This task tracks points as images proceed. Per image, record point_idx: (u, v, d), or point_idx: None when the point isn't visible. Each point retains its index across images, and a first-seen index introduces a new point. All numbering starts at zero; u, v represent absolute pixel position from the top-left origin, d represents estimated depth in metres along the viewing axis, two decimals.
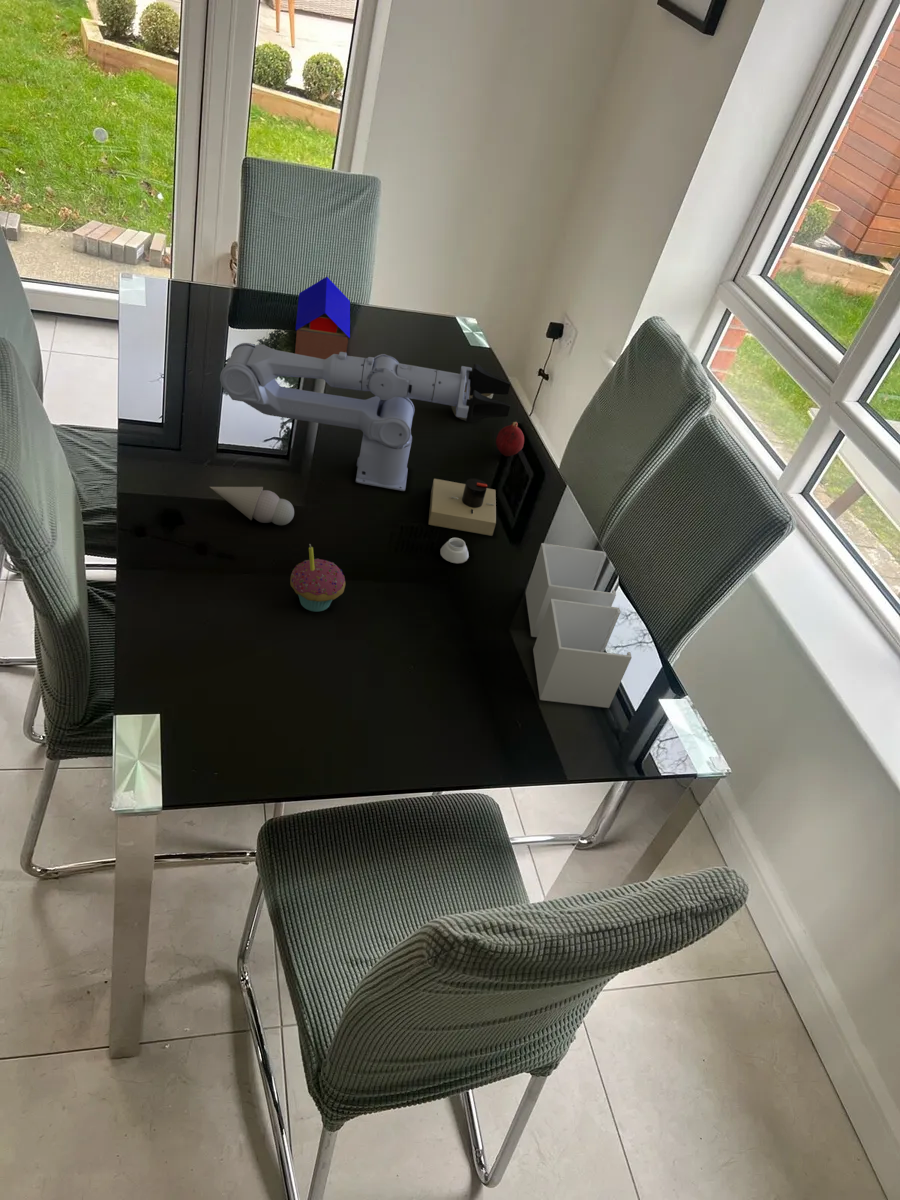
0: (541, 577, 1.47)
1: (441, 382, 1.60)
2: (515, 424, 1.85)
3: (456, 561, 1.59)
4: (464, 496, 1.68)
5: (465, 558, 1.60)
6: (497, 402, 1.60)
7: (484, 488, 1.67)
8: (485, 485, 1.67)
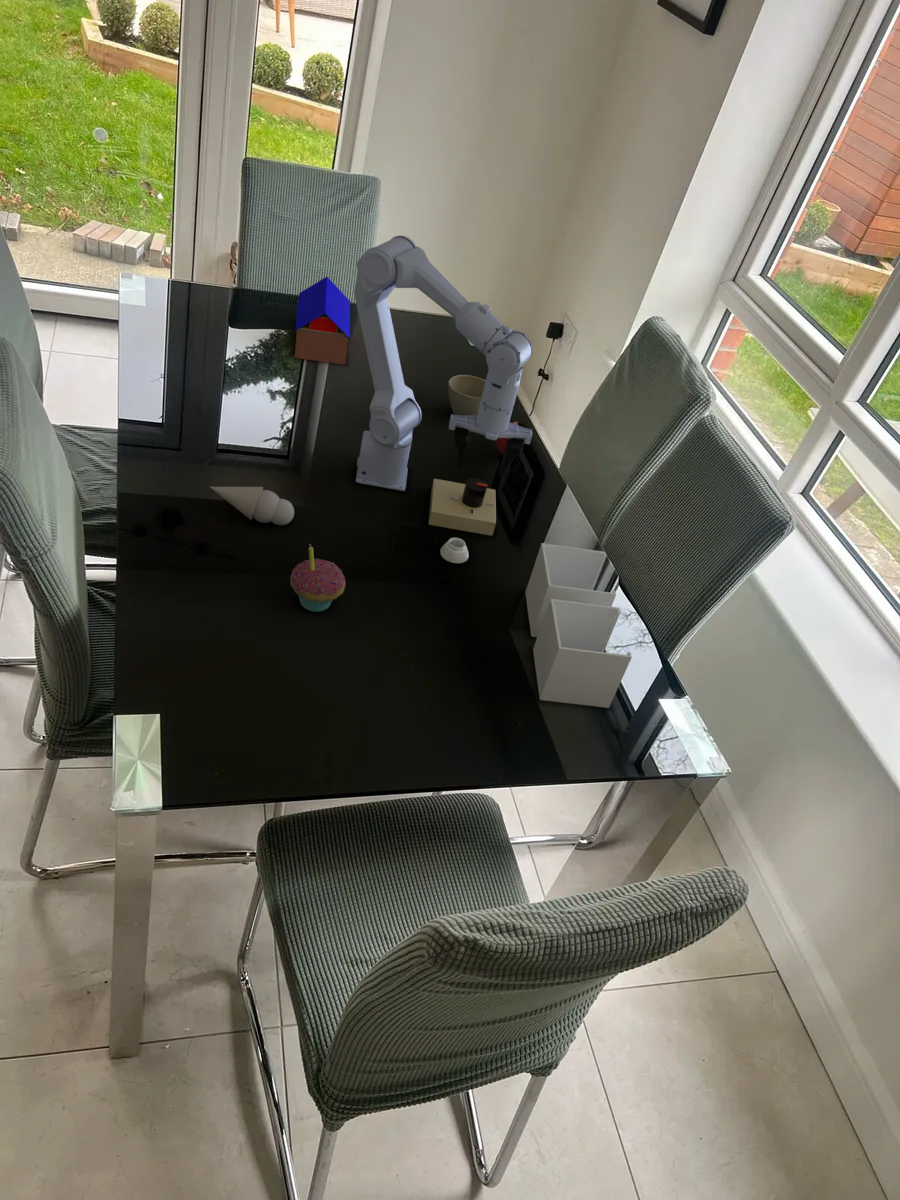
0: (541, 577, 1.47)
1: (485, 411, 1.55)
2: (515, 424, 1.85)
3: (456, 561, 1.59)
4: (464, 496, 1.68)
5: (465, 558, 1.60)
6: (459, 457, 1.62)
7: (484, 488, 1.67)
8: (485, 485, 1.67)
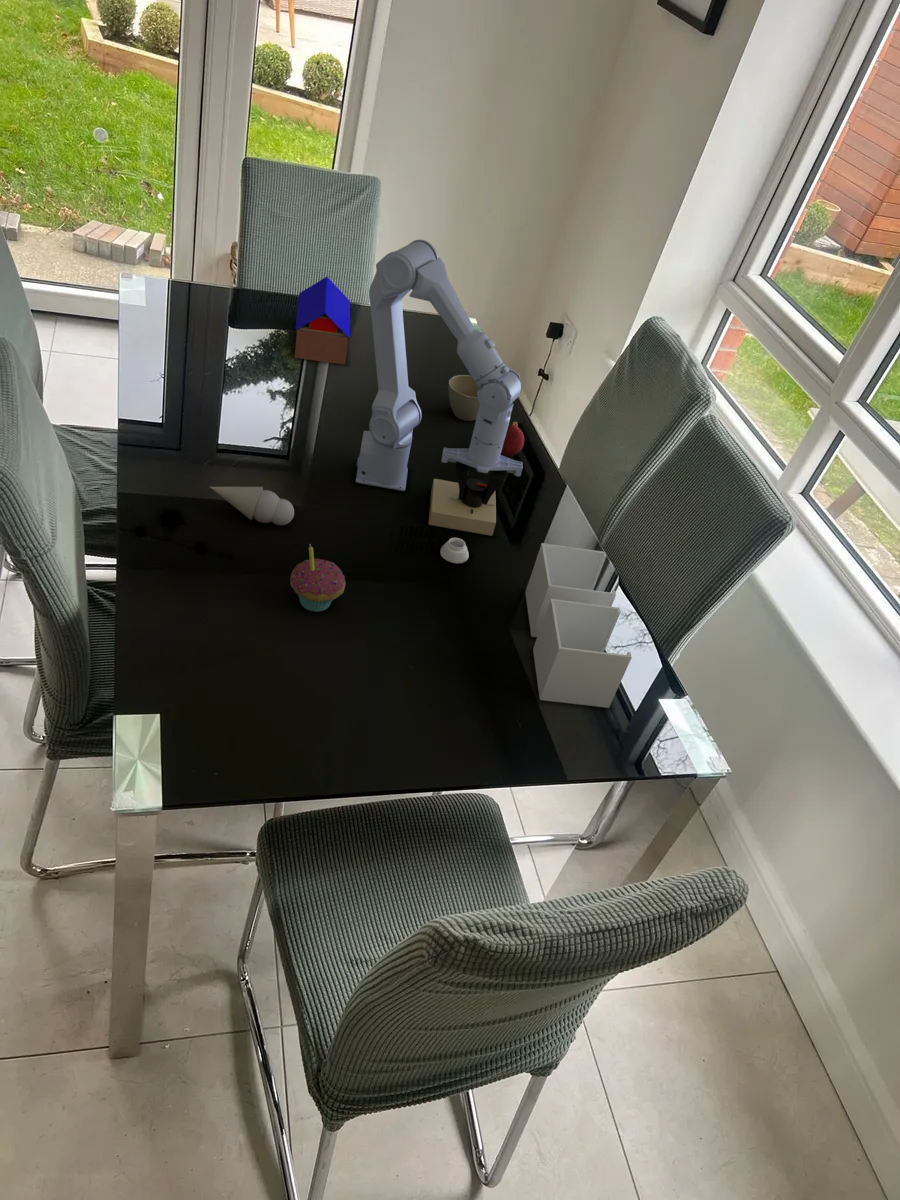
0: (541, 577, 1.47)
1: (476, 445, 1.60)
2: (515, 424, 1.85)
3: (456, 561, 1.59)
4: (464, 496, 1.68)
5: (465, 558, 1.60)
6: (460, 490, 1.67)
7: (484, 488, 1.67)
8: (485, 485, 1.67)
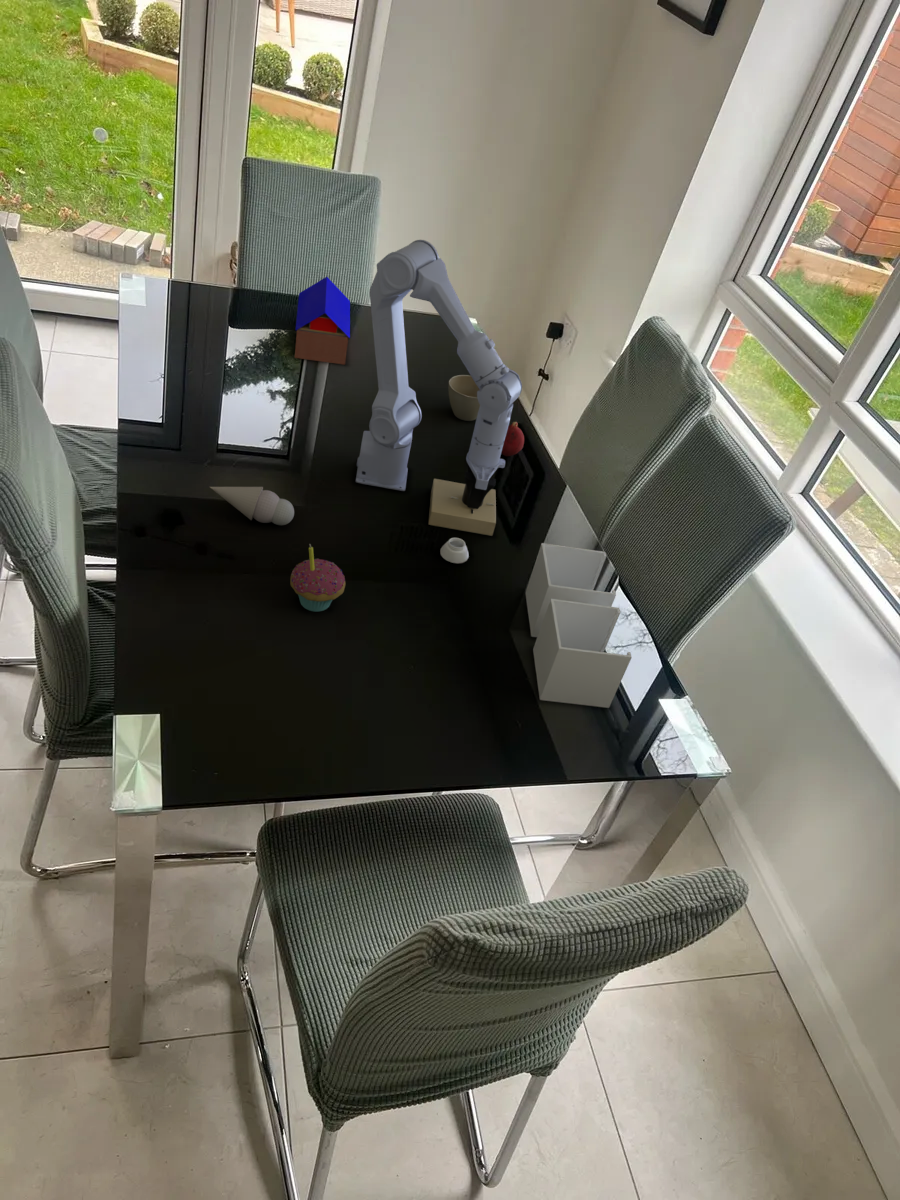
0: (541, 577, 1.47)
1: (498, 450, 1.60)
2: (515, 424, 1.85)
3: (456, 561, 1.59)
4: None
5: (465, 558, 1.60)
6: None
7: None
8: None
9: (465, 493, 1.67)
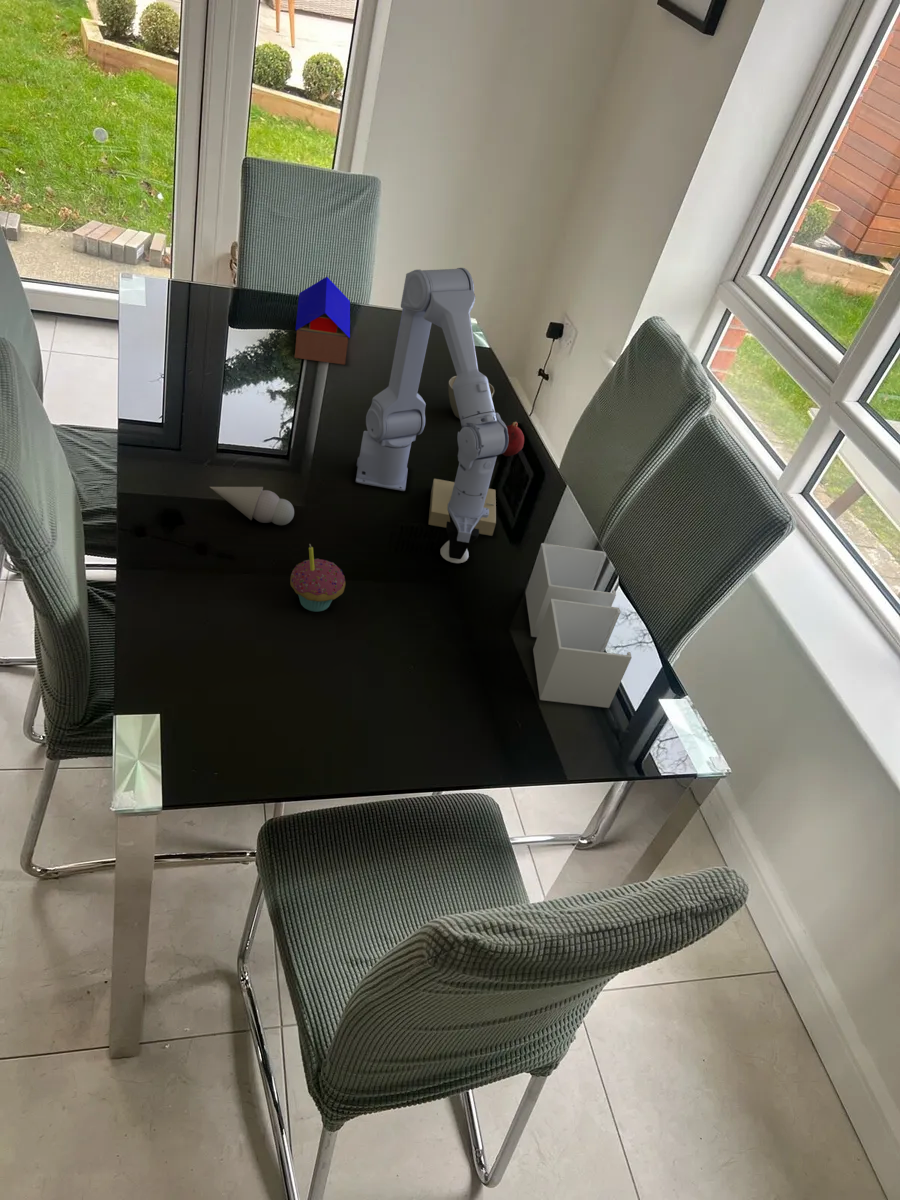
0: (541, 577, 1.47)
1: (481, 499, 1.51)
2: (515, 424, 1.85)
3: (456, 561, 1.59)
4: None
5: (465, 558, 1.60)
6: (465, 549, 1.57)
7: None
8: None
9: None
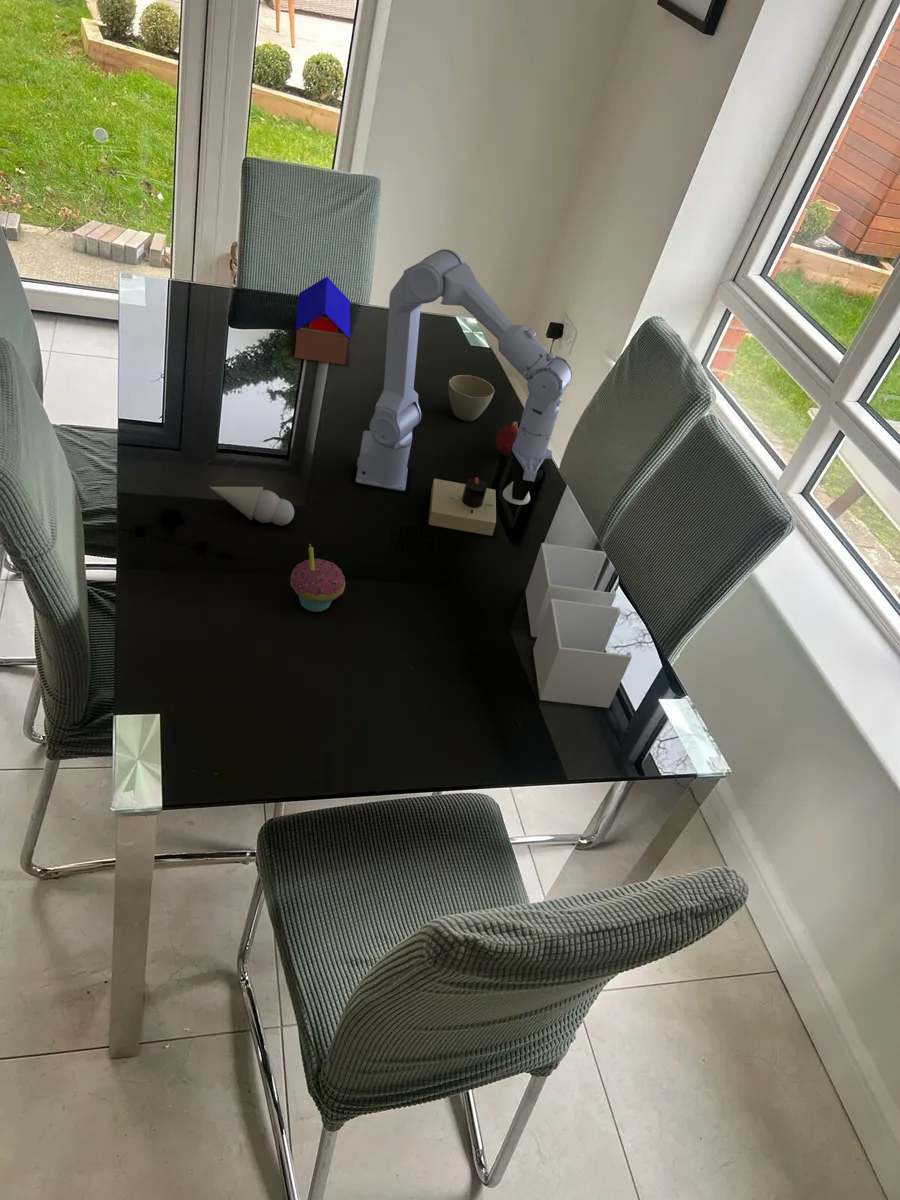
0: (541, 577, 1.47)
1: (546, 440, 1.56)
2: (515, 424, 1.85)
3: (519, 502, 1.64)
4: (478, 501, 1.68)
5: (527, 500, 1.65)
6: (528, 490, 1.62)
7: (480, 480, 1.69)
8: (477, 478, 1.68)
9: (465, 493, 1.67)
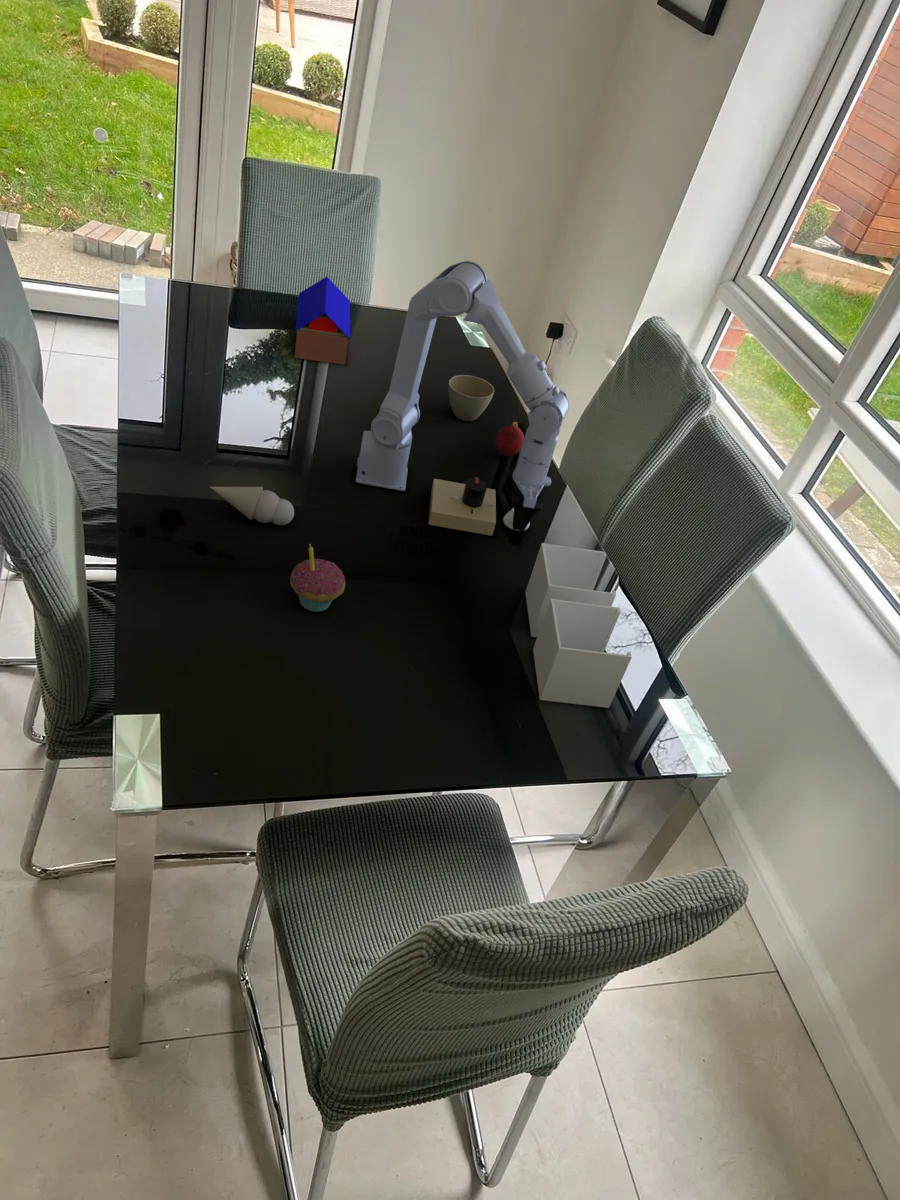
0: (541, 577, 1.47)
1: (546, 468, 1.62)
2: (515, 424, 1.85)
3: None
4: (478, 501, 1.68)
5: (527, 526, 1.71)
6: (529, 521, 1.67)
7: (480, 480, 1.69)
8: (477, 478, 1.68)
9: (465, 493, 1.67)
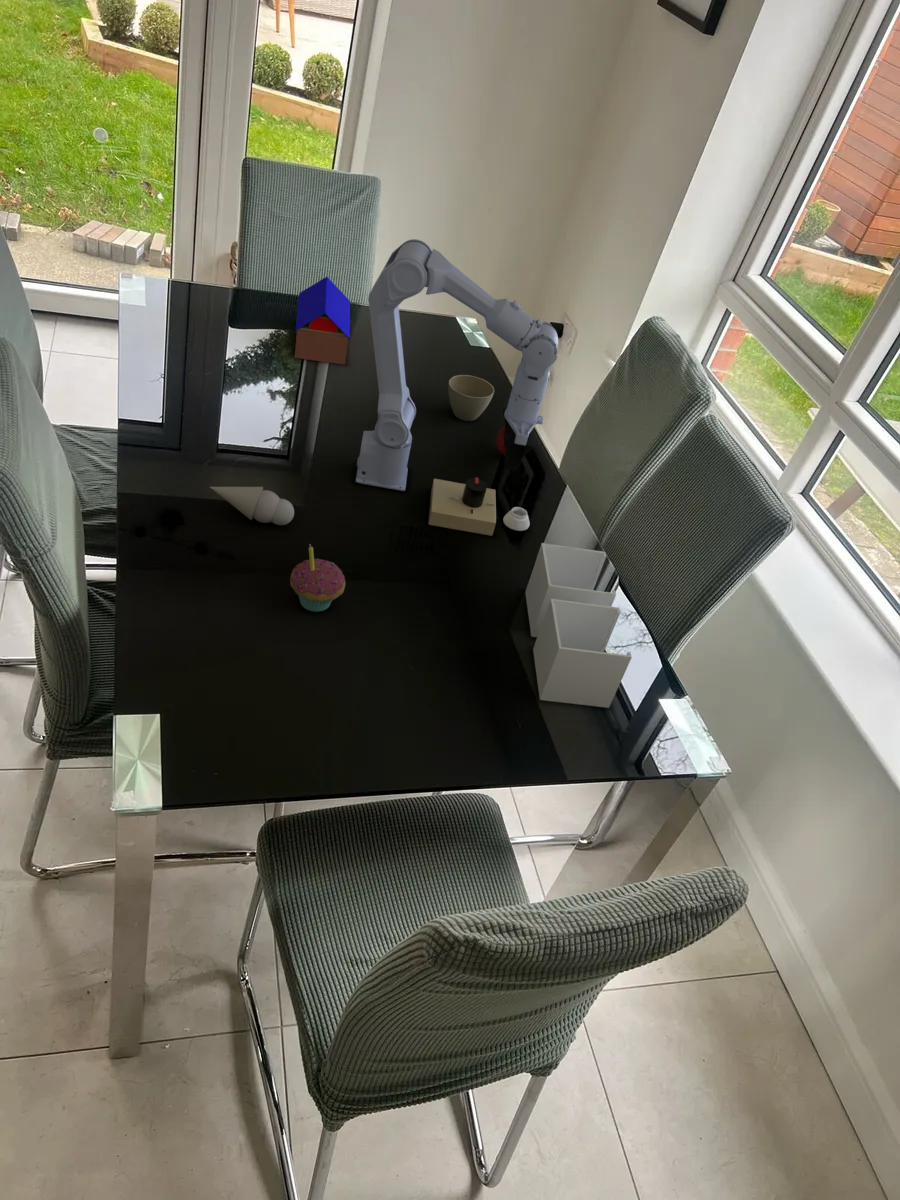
0: (541, 577, 1.47)
1: (537, 405, 1.61)
2: None
3: (519, 529, 1.70)
4: (478, 501, 1.68)
5: (527, 526, 1.71)
6: (520, 460, 1.65)
7: (480, 480, 1.69)
8: (477, 478, 1.68)
9: (465, 493, 1.67)
